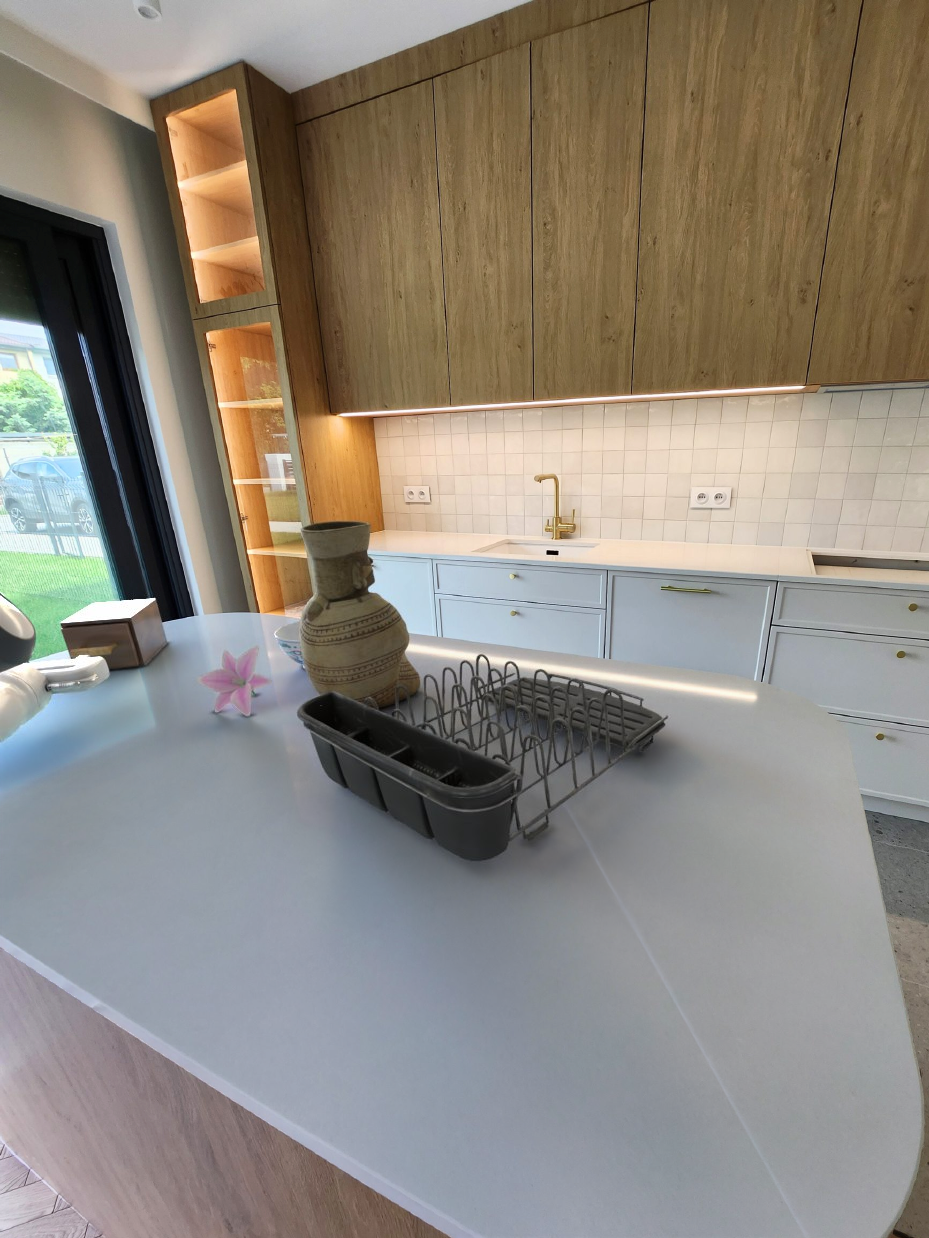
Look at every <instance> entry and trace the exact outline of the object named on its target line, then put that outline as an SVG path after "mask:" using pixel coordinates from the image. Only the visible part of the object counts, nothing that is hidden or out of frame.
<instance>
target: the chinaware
mask: <svg viewBox="0 0 929 1238" xmlns="http://www.w3.org/2000/svg"><path fill="white" fill-rule="evenodd" d="M299 628H300V620H299V621H294V622H291V623H287V624H285V625H282V626H281V627H279V628H278V629H276V630H275V632H274V638H275V640H276V642H277V644H278V646H279V648H280V650H282V652H283V653H284V654H285V655H286V656H287V657H288V658H289V659H291V660H292V661H293V662H295V663H297V664H300V665H302V667H303V669H304V670H306V669H305V666H304V663H303V658H302V653H301V646H300V637H299Z"/></svg>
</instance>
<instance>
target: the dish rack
mask: <svg viewBox="0 0 929 1238" xmlns="http://www.w3.org/2000/svg"><path fill="white" fill-rule="evenodd" d="M481 657H482V658H484V660H485V662H486V665H487V679H486V680H487V681H486V683H485V681H484V680H483V679H482V677H481V676H480V673H479V672H480V670H479V669H480V668H479V667H480V666H479V665H480V659H481ZM464 664H467V665H468V667H470V671H471V676H472V677H471V678H470V682H469V684H470V685H469V699H468V695H467V691H466V689H465V688H464V686H463V665H464ZM508 665H512V666H513V667H514V668H515V670H516V672H512V673H509V674H507V668H508ZM503 669H504V670H503V675H502V673H501V671H499V669H497V668H495V667H491V663H490V660H489V657H487V655H485V654H483V653H480V654H477V655H476V659H475V670H474V666H473V664H472V663H471V662H470V661H469V660H466V659H463V660H462V661H460V663H459V683H458V678H457V674H456V671H455V670H454V669H453V668H451V666H445V667H444V668H443V669H442V676H441V680H442V681H441V695H440V689H439V684H438V681H437V679H436V677H435V676H433V675H432V674H429V673H428V674H425V675H424V676H423V702H422V705H423V706H422V710H423V712H422V722H421V723H419V724H417V725H416V722H415V715H414V711H413V705H412V701H411V696H410V695H409V692H408V691H407V689H406V688H405V687H404V686H402V685H399V686H397V687H396V703H395V708H394V709H392V711H391V715H390V714H388V713H386V712H383V711H382V710H379V709H380V708H378V706H377V704H376V702H375V700H373V699H372V698H371V697H367V698H366V699H365V701H364V704H362V703H360V702H357V701H355V700H353V699H351V698H348V697H346V696H344V695H342V694H340V693H337V692H335V691H332V692H327V693H324V694H321V695H319V694H318V695H315V696H313V697H311V698H309V699H307V700H306V701H304V702H302V704H301V705H299V707H298V708H297V710H296V715H297V717H298V719H299V720H300V721H302V725H303V727H304V729H306V730H307V731H309V733H310V736H311V740H312V742H313V745H314V748H315V750H316V754H317V757H318V760H319V762H320V765H321V767H322V769H323V770H324V774H325V775H326V776H327V777H328V778H329V779H330V780H332V781H333V782H334V783H336V784H337V785H339V786H341V787H342V788H344V789H349V790H350V791H351V793H353V794H354V795H355V796H357V797H358V798H361V799H363V800H364V801H366V802H367V803H369V804H371V805H372V806H374V807H375V808H377V809H379V810H380V811H381V812H383V813H389V814H390V815H391V817H392V818H394V819H395V820H396V821H398V822H400V823H402V824H403V825H405V826H406V827H408V828H410V829H411V830H413V831H415V832H416V833H418V834H420V835H421V836H423V837H424V838H426V839H427V840H428V839H429V840H435V842H436V843H437V845H438V846H440V847H441V848H442V849H444V850H446V851H448V852H450V853H451V854H453V855H455V856H456V857H459V858H461V859H463V860H466V861H470V862H483V861H489V860H491V859H493V858H496V857H498V856H500V855H501V854H503V853H504V852H505V851H506V850H507V849H508V846H509V843H510V842H511V841H513V840H514V839H515V838H516V837H518V836H519V835H521V834H522V838H523V839H524V840H525V841H528V842H529V841H531V840H533V839H534V838H535V837H537V836H538V835H539V834H541V833H542V832H544V831H545V830H547V828H549V823H550V818H549V814H551V813H552V812H553V811H555V810H556V809H557V808H559V807H561V805H563V804H564V803H565V802H567V801H568V800H569V799H570V798H571V799H572V798H573V797H574V796H575V795H576V794H577V793H579V792H580V791H582V790H583V789H584V788H586V787H587V786H588V785H589V784H591V783H593V781H595V780H596V779H598V778H599V777H601V775H603V774H604V773H605V772H607V771H608V770H609V769H611V768H612V767H614V766H615V765H616V764H617V763H618V762H619V761H621V760H623V759H624V758H625V757H626V756H627V755H629V754H630V753H631V752H634V750H636V749H638V752H640V753H643V752H644V751H645V750H647V749H648V748H649V747H650V746H651V745H652V744H654V735H655V734H657V733H659V732H660V731H661V730H662V729H663V728H665V727H666V723H665V721H666V720H667V719H669V715H668V714H666V715H665V716H664V717H662V716H661V715H660V714H659V713H658V712H656V711H653V710H651V709H650V708H649V709H648V708H646V707H644V706H643V702H644V701H645V699H644V698H643V697H642V696H638V695H635V694H632V693H629V692H626V691H623V690H619V689H617V688H616V687H611V686H608V685H603V684H599V683H595V682H592V681H588V680H584V679H579V678H577V677H570V676H565V675H561V674H556V673H548V672H547V671H546V670H545V669H543V668H538V669H536V670H535V671H534V674H533V677H527V676H521V674H520V669H519V667H518V665H517V663H515V661H512V660H508V661H506V662H505V663H504V667H503ZM447 670H448V671H450V672H451V673H452V676H453V681H454V684H453V685H452V687H451V697H450V699H451V701H450V709H449V710H447V711H445V707H446V705H445V704H446V702H445V701H446V699H445V695H446V687H445V683H446V679H445V678H446V671H447ZM492 672H495V673H496V674H497V675H498V676H499V678H497V679H494V680H493V675H492ZM538 673H543V674H544V675H545V677H546V679H547V680H546V679H540V678H537V676H538ZM515 675H516V679H512V680H510V681H509V682H507V679H508V678H511V677H513V676H515ZM427 678H430V679H431V680H432V681H433V683H434V688H435V691H436V697H437V700H436V699H435V697H434V696H431V695H427ZM552 678H558V679H563V680H567V683H563V682H559V681H552V680H551V679H552ZM479 681H480V683H481V685H480V686H479ZM499 682H500V686H497V687H494V684H497V683H499ZM571 683H575V684H578V685H574V684H571ZM584 684H585V685H589V686H593V687H597V688H601V689H603V690H605V692H601V691H598V690H593V689H590V688H586V687H585V685H584ZM490 687H491V690H490ZM399 688H402V689H403V690H404V691H405V692H406V695H407V703H408V710H409V715H410V719H411V723H410V722H408V721H407V717H406V715H405V714H404V712H403V711H402V710H400V706H399V705H400V704H399V702H398V689H399ZM473 689H474V693H473ZM482 690H483V691H482ZM482 692H483V693H482ZM612 693H613V694H614V695H615V696H613V695H612ZM455 694H456V698H457V704H458V706H456V707H455ZM473 694H475V698H474V699H473V697H474V696H473ZM462 695H463V696H462ZM622 695H623V696H626V697H630V698H631V699H632V698H633V699H635V700H639V704H637V703H635V702H631V701H628V700H626V699H623V696H622ZM616 696H617V697H616ZM463 697H464V703H463V704H462V698H463ZM428 700H430V701H431V702H433V704H434V706H435V707H434V708H435V712H436V716H434V717H432V718H430V719H428V718H427V716H428V715H427V711H428V710H427V702H428ZM468 700H469V701H468ZM367 701H371V702H372V703H373V706H374V708H375V709H374V708H371V707H369V706H367ZM474 703H476V707H477V713H478V716H479V721H477V722H474V723H472V711H473V709H472V707H473V705H474ZM489 703H490V704H493V705H494V707H495V713H493V714H491V715H490V710H489V709H490V708H489ZM464 707H465V709H464ZM508 709H509V710H512V711H514V717H513V727H512V726H511V725H510V722H509V715H508ZM484 710H485V715H484ZM457 712H459V715H460V721H461V725H462V726H463V727H464V728H462V729H460V730H458V731H456V715H457ZM503 712H504V716H505V724H506V727H507V728H508V729H509V730H507V731H506V732H505V730H504V728H503V726H502V723H501V722H502V713H503ZM520 713H521V714H522V719H523V720H524V721H525V722H522V723H521V719H520ZM449 714H450V729H449V733H448V732H447V728H446V724H445V723H446V722H445V716H447V715H449ZM527 716H529V718H527ZM400 717H401V718H402V719H400ZM493 717H496V720H491V718H493ZM464 718H465V719H464ZM436 720H437V726H438V731H439V735H438V732H437V730H436V728H435V727H434V725H432V722H434V721H436ZM465 720H466V723H465ZM486 720H487V723H486V726H485V737H484V738H485V739H484V743H483V741H482V740H483V729H484V727H483V726H484V725H483V723H484V721H486ZM539 720H541V721H546V722H547V726H546V734H545V738H543V737H542V735H541V731H540V723H539ZM528 723H530V734H527V735H525V736H524V738H523V735H522V733H523V732H522V727H523V726H525V725H526V724H528ZM477 725H479V736H478V746H477V745H476V744H475V739H474V733H473V727H474V726H477ZM492 725H495V727H497V732H496V736H494V733H493V730H492ZM535 725H536V726H535ZM557 726H561V728H560V729H559V728H558V727H557ZM427 727H428V728H429V729H430V730H431V731H428V730H427ZM535 727H536V730H535ZM517 729H518V730H517ZM466 730H467V733H468V740H466V739H465V737H456V735H458V734H460V733H462V732H464V731H466ZM566 730H567V735H566V742H565V748H564V756H563V761H562V762H560V761H559V760H558V756H557V745H556V736H557V735H559V734H560V733H562V732H564V731H566ZM517 731H518V738H519V744H520V748H521V753H519V754H517V755H515V745H516V733H517ZM555 731H556V732H555ZM573 731H575V732H576V733H577V732H578V733H580V734H582V736H581V743H580V748H579V751H576V749H575V747H574V738H573ZM510 733H512V738H511V746H510V757H509V753H508V747H507V739H506V735H508V734H510ZM536 733H537V736H536ZM444 735H445V736H446V737H444ZM489 736H490V738H491V739H490V740H489ZM450 738H451V740H448V739H450ZM593 739H595V740H594V741H593ZM497 740H499V744H500V750H501V753H494V754H493V755H492V757H489V756H488V751H489V750H488V749H489V744H491V743H493V742H495V741H497ZM528 740H529V742H528ZM548 740H549V743H548V751H547V761H546V758H545V749H544V748H545V747H544V745H543V743H545V742H547V741H548ZM585 740H587V741H588V746H587V747H585V746H584V745H585ZM601 741H603V742H605V748H606V755H607V765H605V766H604V767H603V768H601V769H600V770H599V771H597V772H596V771H595V770H596V768H595V767H596V766H595V757H594V748H593V747H594V746H596V744H598V743H599V742H601ZM646 741H647V743H645V742H646ZM459 743H461V744H463V745H465V746H466V747H465V746H462V745H460V744H459ZM482 743H483V744H482ZM527 744H528V748H527ZM643 744H644V745H643ZM611 745H614V746H616V747H619V748H622V752H623V753H622V754H621V755H619V756H617V757H616V758H615V759H613V760H612V756H611ZM538 746H539V750H540V751H539V753H540V760H541V768H542V772H541V771H540V764H539V756H538V749H537V747H538ZM584 747H585V748H584ZM482 748H484V754H482V753H480V752H477V751H479V750H480V749H482ZM532 750H533V757H534V763H535V771H536V773H537V775H538V776H539V777H540V778H538V779H536V780H535V781H533V782H532V783H531V784H529V785H527V786H526V787H525V788H523V782H524V780H523V779H524V772H525V761H526V754H527V753H528V752H531V751H532ZM569 751H570V753H569V754H570V758H568V752H569ZM586 751H589V759H590V769H591V777H590V778H588V779H587V780H585V781H584V782H582V783H581V784H579V785H578V776H577V767H576V759H575V758H577V757H579V756H580V755H581V754H583V753H585V752H586ZM552 752H553V760H554V762H555V764H556V765H558V766H556V767H555V768H553V769H552V770H550V767H551V759H552ZM514 755H515V756H514ZM518 758H521V759H520V769H519V770H520V771H519V773H517V772H516V768H515V767H514V766H512V764H511V763H512V762H513V761H515V760H517V759H518ZM498 759H500V760H502V761H504V762H502V761H499V760H498ZM569 762H570V763H571V772H572V773H571V774H572V781H573V785H574V786H573V787H574V789H573V790H572V791H570V792H569V793H568V794H566V795H565V796H563V797H562V798H561V799H560V800H558V801H557V802H556V803H554V804H553V805H552V802H551V795H550V794H551V793H550V787H549V780H548V776H550V775H552V774H553V773H555V772H556V771H557V770H559V769H560V768H562V767H564V766H565V765H567V764H568V763H569ZM516 773H517V774H516ZM542 781H543V787H544V794H545V801H546V807H547V808H545V809H544V810H543V812H541V813H540V814H538V815H537V816H536V817H534V818H533V819H531V820H530V821H528V822H527V823H526V824H524V825H522V826H521V822H520V817H519V809H518V801H519V796H521V795H522V794H524V793H525V792H526V791H528V790H529V789H531V788H532V787H534V786H535V785H537V784H538V783H540V782H542ZM515 782H516V785H515ZM513 818H515V825H516V830H515V831H514V832H513V833H512V834H511V827H512V822H513ZM543 818H545V821H543V822H542V823H541V824H540V825H538V826H537V827H535V828H534V829H533V830H531V831H529V832H528V833H526V831H527V830H528V829H529V828H530V827H532V826H533V825H535V824H536V823H538V822H539V821H541V820H542V819H543Z"/></svg>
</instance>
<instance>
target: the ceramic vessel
mask: <svg viewBox="0 0 929 1238" xmlns="http://www.w3.org/2000/svg"><path fill="white" fill-rule="evenodd" d="M371 527H372V525H371V523H369V522H366V521H358V520H332V521H331V520H329V521H323V522H321V521H320V522H314V523H311V524H308V525H305V526H302V527H301V528H300V535H301V537H302V540H303V543H304V546H305V548H306V551H307V553H308V555H309V557H310V558H311V562H312V563H311V564H312V568H313V575H314V585H315V590H316V591H315V593H314V595H313V596H312V597H311V598H310V599H309V600H308V601H307V603H306V604H305V606H304V607H303V610H302V612H301V614H300V619H299V621H300V628H299V637H300V646H301V653H302V658H303V663H304V666H305V669H304V670H305V672H306V674H307V676H308V679H309V681H310V683H311V684H312V686H313V688H314V689H315V691H316V692H317V694H318V696H319V695H321V694H324V693H327V692H332V691H335V692H337V693H340V694H342V695H344V696H346V697H348V698H351V699H353V700H355V701H357V702H360V703H362V704H364V701H365V699H366V698H367V697H371V698H372V699H373V700H375V702H376V704H377V706H378V709H382V708H384V707H389V706H391V705H394V704H396V687H397V686H399V685H402V686H404V687H405V688H406V689H407V691H408V692H409V695H410V697H412V696H414V694H416V693H417V692H418V691H419V689H420V687H421V676H420V674H419V672H418V671H417V670H416V668H415V667H414V666H413V665H412V663H411V662H410V661H409V660H408V657H407V655H406V650H407V649H408V646H409V644H410V634H409V631H408V626H407V624H406V621H405V620H404V618H403V617H402V615H401V614H400V613H401V612H399V610H398V609H397V608H396V607H395V606H394V605H393V604H392V603H391V602H390V601H388V600H386V599H385V598H383V597H382V596H381V595H380V594H379V593H378V592H372V591H371V592H370V591H369V588H370V587H371V586H373V585H374V584H375V583H376V578H375V574H374V569H373V566H372V565H373V563H374V559H373V558H372V557H371V556H369V554H368V550H369V546H370V538H371V529H372V528H371ZM406 699H407V695H406V692H405V691H404V690H403V689H402V688H399V689H398V703H399V702H401V701H403V700H406ZM407 700H408V699H407ZM367 706H369V707H371V708H374V706H373V703H372V702H371V701H367ZM374 709H375V708H374Z"/></svg>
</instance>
